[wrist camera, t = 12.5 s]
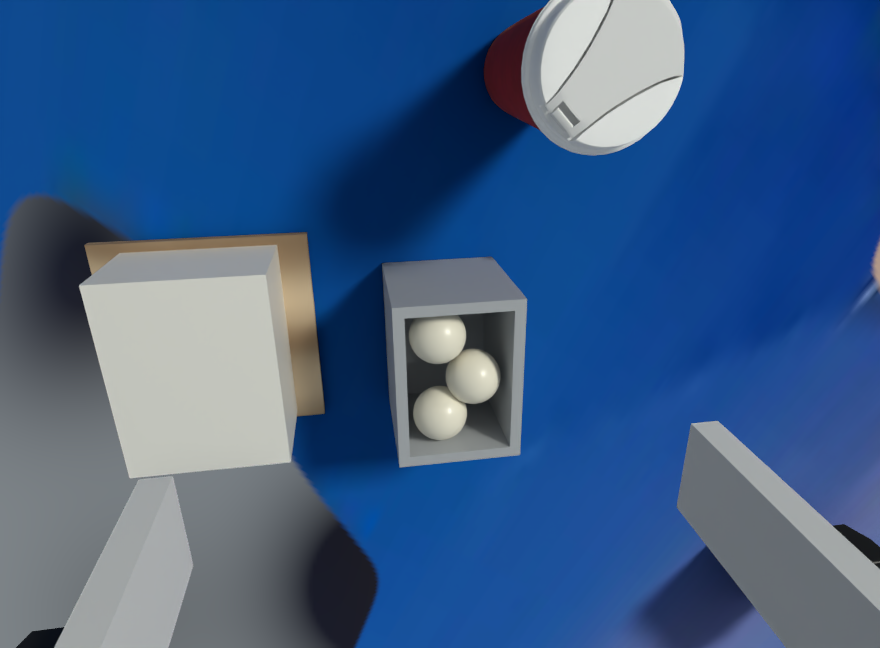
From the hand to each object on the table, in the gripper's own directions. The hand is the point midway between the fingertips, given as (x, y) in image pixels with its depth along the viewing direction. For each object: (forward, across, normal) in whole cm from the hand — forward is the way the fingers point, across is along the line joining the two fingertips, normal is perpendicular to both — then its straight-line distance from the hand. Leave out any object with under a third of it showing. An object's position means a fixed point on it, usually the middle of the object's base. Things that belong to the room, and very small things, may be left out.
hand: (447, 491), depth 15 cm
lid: (+28, -12, -7) cm, 31 cm away
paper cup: (+29, +10, +10) cm, 32 cm away
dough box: (+29, +4, -8) cm, 30 cm away
